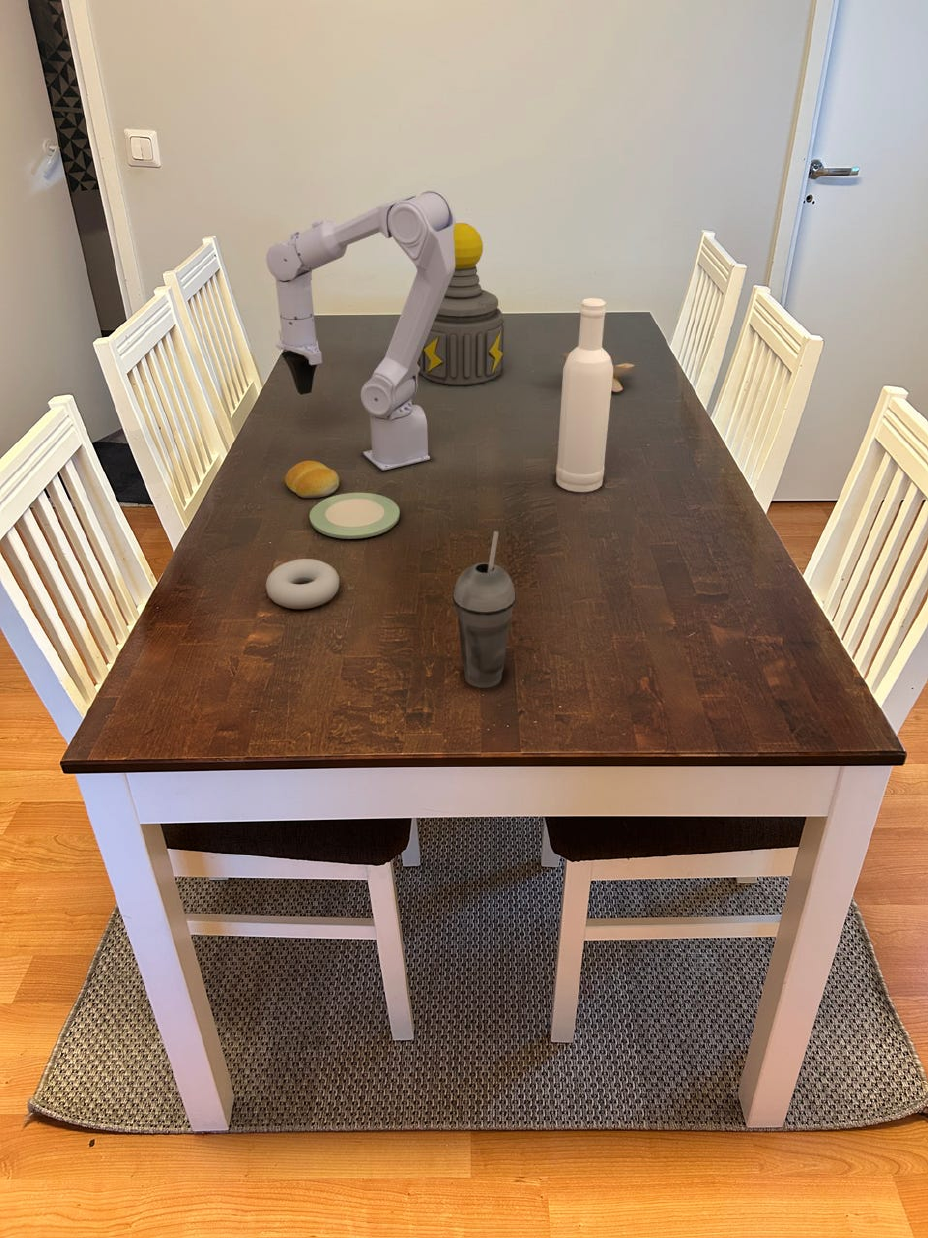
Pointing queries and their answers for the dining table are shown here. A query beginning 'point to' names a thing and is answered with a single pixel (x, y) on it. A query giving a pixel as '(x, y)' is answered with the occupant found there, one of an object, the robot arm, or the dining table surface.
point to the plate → (354, 515)
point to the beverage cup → (484, 619)
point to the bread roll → (312, 480)
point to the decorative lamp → (465, 323)
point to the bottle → (585, 405)
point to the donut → (302, 596)
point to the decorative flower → (614, 373)
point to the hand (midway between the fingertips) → (304, 392)
